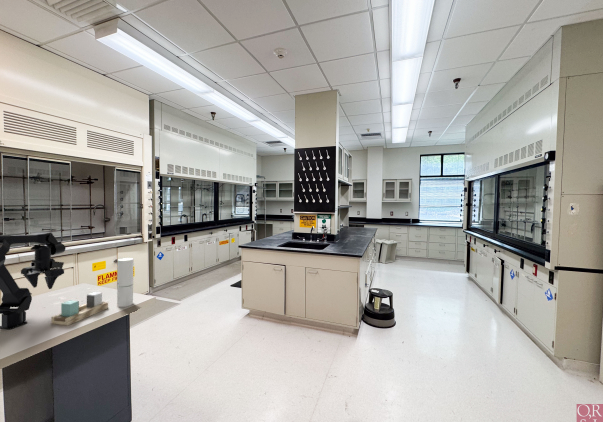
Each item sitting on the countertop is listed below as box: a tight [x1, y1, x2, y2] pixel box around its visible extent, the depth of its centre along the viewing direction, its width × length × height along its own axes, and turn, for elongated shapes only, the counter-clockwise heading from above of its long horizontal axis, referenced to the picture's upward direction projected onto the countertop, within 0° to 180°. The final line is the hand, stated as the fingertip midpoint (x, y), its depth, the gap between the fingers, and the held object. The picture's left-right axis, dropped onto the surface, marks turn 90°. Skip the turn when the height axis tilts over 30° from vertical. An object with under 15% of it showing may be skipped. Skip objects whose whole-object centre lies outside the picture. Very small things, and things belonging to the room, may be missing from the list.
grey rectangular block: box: [86, 291, 103, 308], centre depth 131 cm, size 4×5×7 cm
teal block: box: [60, 300, 80, 317], centre depth 119 cm, size 4×5×7 cm
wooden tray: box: [50, 301, 109, 326], centre depth 125 cm, size 20×9×3 cm, turn 171°
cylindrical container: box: [116, 257, 134, 308], centre depth 139 cm, size 7×7×25 cm
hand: (42, 288), depth 127 cm, fingers open, 9 cm apart
